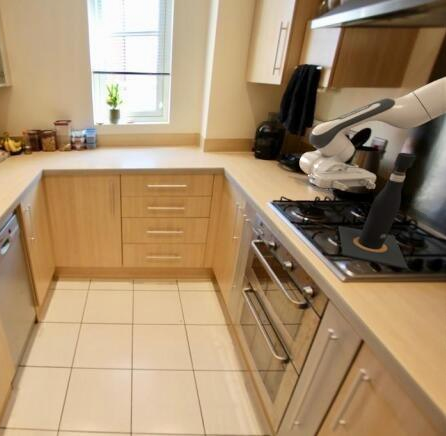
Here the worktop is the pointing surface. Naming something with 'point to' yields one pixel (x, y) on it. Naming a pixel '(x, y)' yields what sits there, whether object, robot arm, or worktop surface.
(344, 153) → the robot arm
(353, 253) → the centre mat
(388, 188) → the wine bottle
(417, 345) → the worktop surface
